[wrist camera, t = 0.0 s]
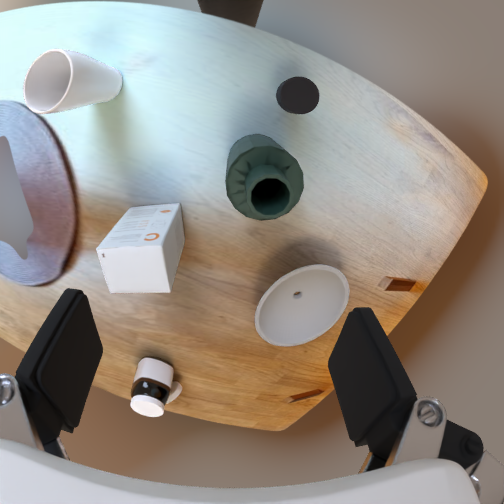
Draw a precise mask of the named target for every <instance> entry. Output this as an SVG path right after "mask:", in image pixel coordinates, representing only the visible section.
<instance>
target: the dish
mask: <svg viewBox="0 0 504 504" xmlns="http://www.w3.org/2000/svg"><path fill="white" fill-rule="evenodd" d="M296 292H300V293H299V294H298V295H295V294H294V293H296ZM348 299H349V284H348V281H347V279H346V277H345V276H344V274H343V273H342V272H341V271H339V270H338V269H336V268H334V267H332V266H329V265H323V264H315V265H308V266H304V267H301V268H298V269H295V270H293V271H291V272H289V273H287V274H286V275H284V276H283V277H281V278H280V279H278V280H277V281H276V282H275V283H274V284H273V285H271V286H270V288H269V289H268V290H267V291H266V292H265V293H264V295H263V296H262V298H261V300H260V301H259V303H258V306H257V309H256V312H255V327H256V330H257V332H258V334H259V335H260V336H261V337H262V338H263V339H264V340H265V341H267V342H268V343H270V344H273V345H277V346H296V345H300V344H304V343H307V342H309V341H311V340H314V339H315V338H317V337H319V336H321V335H322V334H324V333H325V332H326V331H327V330H329V329H330V328H331V327H332V326H333V325H334V324H335V323H336V322H337V321H338V319H339V318H340V317H341V315H342V314H343V312H344V310H345V308H346V306H347V303H348Z"/></svg>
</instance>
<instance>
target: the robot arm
mask: <svg viewBox="0 0 504 504" xmlns="http://www.w3.org/2000/svg"><path fill="white" fill-rule="evenodd" d="M102 353H103V347H102V343H101V340H100V337H99V334H98V331H97V328H96V325H95V322H94V319H93V315H92V312H91V308H90V305H89V301H88V298H87V296H86V295H84V293H83V291H82V290H77V289H70V288H68V289H66V290H65V291H64V293H63V294H62V296H61V297H60V299H59V300H58V302H57V303H56V305H55V306H54V308H53V309H52V311H51V312H50V314H49V315H48V317H47V318H46V320H45V322H44V323H43V325H42V326H41V328H40V330H39V331H38V333H37V335H36V336H35V338H34V340H33V342H32V343H31V345H30V347H29V349H28V350H27V352H26V354H25V356H24V358H23V359H22V362H21V363H20V365H19V367H18V369H17V371H16V376H15V378H14V377H13V376H11V375H10V374H5V373H4V374H0V504H503V502H504V465H503V464H501V463H500V462H499V461H498V460H497V459H496V458H495V457H494V456H493V455H492V454H490V453H489V452H488V451H487V450H485V451H484V452H483V443H482V440H481V438H480V437H479V436H478V435H477V434H476V433H474V432H472V431H470V430H468V429H465V428H463V427H461V426H459V425H457V424H455V423H453V422H451V421H449V420H447V413H446V410H445V408H444V406H443V404H442V403H441V402H440V401H439V400H437V399H435V398H433V397H430V396H426V397H425V396H424V397H421V398H419V399H417V397H416V395H417V394H416V392H415V390H414V388H413V386H412V384H411V381H410V380H409V377H408V376H407V373H406V372H405V369H404V368H403V366H402V364H401V362H400V360H399V358H398V356H397V354H396V352H395V350H394V348H393V347H392V345H391V343H390V341H389V339H388V337H387V335H386V334H385V332H384V330H383V328H382V326H381V325H380V323H379V321H378V319H377V318H376V316H375V314H374V312H373V311H372V309H371V308H369V307H361V308H354V309H353V311H352V312H349V314H348V316H347V319H346V321H345V323H344V326H343V328H342V331H341V333H340V335H339V338H338V340H337V342H336V344H335V347H334V349H333V351H332V353H331V356H330V358H329V361H328V368H329V371H330V374H331V378H332V381H333V384H334V387H335V390H336V394H337V397H338V400H339V404H340V407H341V410H342V414H343V417H344V420H345V424H346V427H347V431H348V434H349V438H350V439H351V440H352V441H354V442H355V446H356V447H358V446H363V445H367V444H368V447H369V450H370V452H369V453H368V455H367V458H366V459H365V461H364V463H363V465H362V467H361V469H360V471H359V473H358V474H356V475H351V476H347V477H341V478H336V479H331V480H326V481H320V482H314V483H306V484H299V485H290V486H279V487H264V488H207V487H193V486H182V485H172V484H165V483H158V482H152V481H146V480H140V479H135V478H130V477H125V476H121V475H116V474H113V473H109V472H105V471H101V470H98V469H94V468H91V467H87V466H84V465H81V464H78V463H74V462H71V461H70V459H69V457H68V455H67V453H66V451H65V448H64V446H63V444H62V442H61V439H60V437H59V435H60V431H61V430H64V431H67V432H70V433H73V430H74V427H77V426H78V425H79V422H80V419H81V415H82V412H83V409H84V405H85V402H86V399H87V396H88V393H89V390H90V387H91V384H92V382H93V379H94V376H95V373H96V370H97V368H98V365H99V362H100V359H101V357H102Z"/></svg>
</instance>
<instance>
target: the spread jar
mask: <svg viewBox="0 0 504 504" xmlns="http://www.w3.org/2000/svg"><path fill="white" fill-rule="evenodd" d="M172 379H173V367H172V366H171V365H170V364H169V363H168V362H166V361H165V360H163V359H161V358H158V357H154V356H146V357H143V358H142V359H141V360H140V361H139V364H138V366H137V369H136V373H135V377H134V381H133V385H132V389H131V398H132V400H131V407H132V408H133V410H135V411H136V412H138V413H139V414H142V415H145V416H150V417H158V416H161V415H163V413H164V406H165V404H167V403H169V402H171V401H173V400H174V399H175V398H176V397H178V395H179V394H180V393H181V391H182V386H181V385H180V383H179V382H177V381H174V382H172Z"/></svg>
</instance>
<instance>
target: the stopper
mask: <svg viewBox="0 0 504 504" xmlns="http://www.w3.org/2000/svg"><path fill="white" fill-rule="evenodd" d="M276 98H277V101H278V104H279V105H280V106H281V108H282V109H284V110H285V111H287V112H289V113H295V114H306V113H309V112H311V111H312V110H313V109H314V108H315V107H316V106H317V104H318V102H319V91H318V88H317V87H316V85H315V84H314V83H313V82H312V81H311V80H309V79H307V78H304V77H293V78H290V79H288V80H286V81H284V82H283V83H282V84H281V85H280V86H279V87H278V89H277V93H276Z"/></svg>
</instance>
